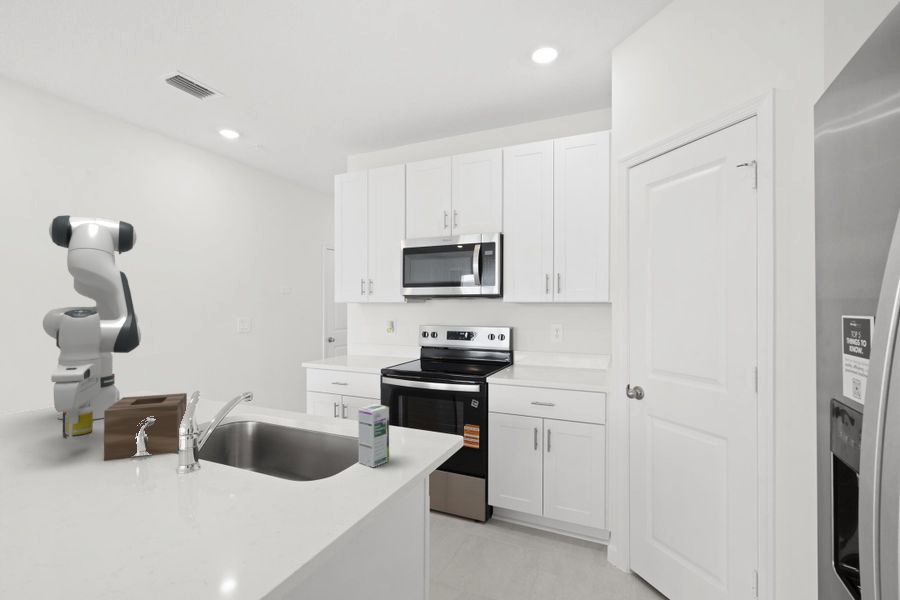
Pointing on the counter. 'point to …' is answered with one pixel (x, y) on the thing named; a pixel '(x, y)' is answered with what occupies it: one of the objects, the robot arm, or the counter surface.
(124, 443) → the box
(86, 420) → the supplement bottle
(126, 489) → the counter surface
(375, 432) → the syrup box
